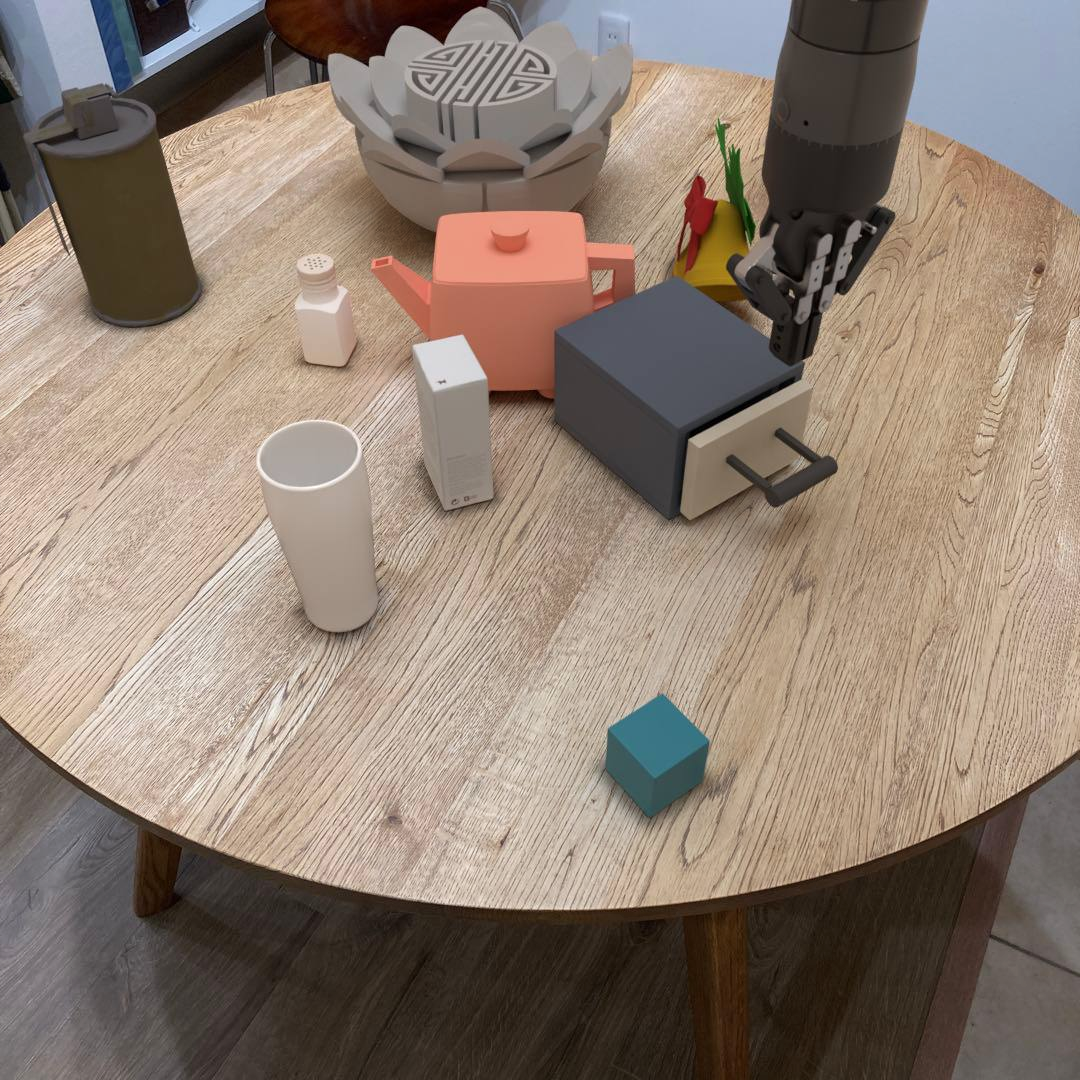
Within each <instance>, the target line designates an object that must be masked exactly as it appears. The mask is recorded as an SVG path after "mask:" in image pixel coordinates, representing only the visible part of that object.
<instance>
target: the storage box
mask: <svg viewBox="0 0 1080 1080" xmlns="http://www.w3.org/2000/svg"><path fill="white" fill-rule="evenodd" d="M554 339H555V340H554V398H553V401H554V404H553V406H554V407H553V409H554V422H555V423H557V424H558V425H559V426H560V427H561V428H562V429H564V430H565V432H567V433H568V434H569V435H571V436H572V437H573V438H574V439H575V440H576V441H577V442H579V443H580V444H581V445H582V446H583V447H584V448H585V449H586V450H588V451H589V452H590V453H591V454H593V456H595V457H596V458H597V459H598V461H600V462H602V464H604V465H605V466H606V467H607V468H608V469H609V470H611V471H612V472H613V473H614V474H615V475H616V476H618V477H619V478H620V479H621V480H622V481H623V482H625V483H626V484H627V485H628V486H629V487H630V488H632V489H633V490H634V491H635V492H636V493H637V494H638V495H640V496H641V497H642V498H643V499H644V500H645V501H647V502H648V503H649V504H650V505H651V506H652V507H653V508H655V509H656V510H657V511H658V512H659V513H660V514H661V515H662V516H664V517H665V518H666V519H667V520H671V519H673V518H674V517H676V516H678V515H680V514H682V513H681V512H680V508H681V499H682V491H683V490H682V491H680V484H681V475H682V466H683V457H684V448H685V439H686V433H687V432H689V431H691V430H693V429H695V428H697V427H699V426H701V425H703V424H704V423H706V422H708V421H710V420H712V419H714V418H716V417H718V416H720V415H722V414H723V413H725V412H727V411H729V410H731V409H733V408H735V407H737V406H739V405H741V404H742V403H744V402H746V401H748V400H750V399H752V398H754V397H756V396H758V395H760V394H761V393H763V392H765V391H767V390H769V389H771V388H773V387H775V386H777V385H778V384H780V385H779V390H778V392H779V391H781V390H783V389H784V388H786V387H788V386H790V385H792V384H794V383H796V382H798V381H800V380H801V379H803V375H804V370H805V365H806V362H805V360H801V361H800V362H799V363H797V364H795V365H793V366H791V367H790V366H788V365H786V364H785V363H783V362H782V361H780V360H779V359H777V358H776V357H775V356H773V354H772V353H771V352H770V350H769V342H770V337H768V336H767V335H766V334H764V333H763V332H761V331H759V330H758V329H757V328H755V327H754V326H753V325H751V324H749V323H747V322H746V321H745V320H743V319H742V318H740V317H739V316H737V315H736V314H735V313H733V312H732V311H730V310H728V309H727V308H725V307H724V306H723V305H721V304H720V303H718V302H715V301H714V300H712V299H711V298H709V297H708V296H706V295H705V294H703V293H702V292H700V291H699V290H697V289H696V288H694V287H693V286H691V285H690V284H688V283H687V282H685V281H684V280H682V279H681V278H680V277H678V276H675V277H673V276H672V277H670V278H668V279H665V280H663V281H662V282H659V283H657V284H655V285H653V286H651V287H648V288H646V289H644V290H641V291H639V292H636V293H635V295H632V296H630V297H628V298H626V299H624V300H621V301H619V302H617V303H615V304H612V305H610V306H608V307H606V308H603V309H601V310H599V311H597V312H595V313H592V314H590V315H588V316H586V317H583V318H581V319H579V320H577V321H575V322H572V323H570V324H568V325H566V326H563V327H561V328H559V329H557V330H555V331H554Z"/></svg>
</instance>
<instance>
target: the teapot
mask: <svg viewBox="0 0 1080 1080" xmlns="http://www.w3.org/2000/svg"><path fill="white" fill-rule="evenodd" d="M435 235H436V236H435V244H434V253H433V260H432V261H433V262H432V273H431V281H428V280H427V279H425V278H424V277H422V276H421V275H419V274H418V273H416V272H415V271H414V270H412V269H410V268H409V267H407V266H406V265H404V264H403V263H402V262H400V261H398V260H397V259H395V258H394V255H387V256H383V257H378V258H374V259H372V260H371V267H370V270H371V273H372V274H373V275H374V276H375V278H376V279H377V280H378V281H379V282H380V283H381V284H382V285H383V287H384V288H385V289H386V291H388V293H389V294H390V295H391V296H392V297H393V298H394V300H395V301H396V302H397V303H398V304H399V305H400V307H401V308H402V309H403V310H404V312H405V313H406V314H407V315H408V316H409V317H410V319H412V321H413V322H414V323H415V324H416V326H417V327H418V328H419V329H420V330H421V332H422V333H423V334H424V335H425V337H427V338H429V342H430V341H435V340H439V339H444V338H449V337H453V336H458V335H464V337H465V339H466V341H467V342H468V344H469V346H470V348H471V350H472V351H473V353H474V355H475V357H476V358H477V360H478V362H479V364H480V365H481V367H482V369H483V371H484V373H485V375H486V377H487V379H488V396H490V394H491V392H492V391H500V392H501V391H504V392H505V391H509V392H511V391H533V390H535V391H536V390H537V391H538V393H539V394H540V395H541V396H543V397H544V398H548V399H554V340H555V339H554V331H555V330H557V329H559V328H561V327H563V326H566V325H568V324H570V323H572V322H575V321H577V320H579V319H581V318H583V317H586V316H588V315H590V314H592V313H595V312H597V311H599V310H601V309H603V308H606V307H608V306H610V305H612V304H615V303H617V302H619V301H621V300H624V299H626V298H628V297H630V296H632V295H635V294H636V262H635V261H636V260H635V250H634V244H627V243H626V244H624V243H623V244H622V243H608V242H607V243H605V242H589V241H587V234H586V229H585V222H584V217H583V215H582V214H581V213H578V212H572V211H568V212H559V211H498V212H474V213H459V214H449V215H444V216H441V218H440V219H439V222H438V227H437V233H435ZM592 271H593V272H594V271H595V272H596V271H612V282H611V287H610V288H608V289H606V290H604V291H601V292H597V293H596V294H594V284H593V276H592Z"/></svg>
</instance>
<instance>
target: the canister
mask: <svg viewBox="0 0 1080 1080" xmlns="http://www.w3.org/2000/svg"><path fill="white" fill-rule="evenodd" d="M60 95H61V103H62V105H61V106H58V107H55V108H54V109H52V110H50V111H48V112H47V113H45V114H43V115H42V116H40V117H39V118H38V119H37V120H36V122H35V123H34V124H33V125H32V127H31V129H30V131H28V132H24V133H23V135H22V138H23V140H24V143H25V146H26V149H27V151H28V154H29V157H30V160H31V162H32V165H33V168H34V170H35V173H36V176H37V179H38V182H39V184H40V187H41V189H42V192H43V196H44V199H45V200H46V203H47V206H48V208H49V211H50V214H51V217H52V220H53V223H54V225H55V227H56V228H55V229H56V230H57V234H58V235H59V238H60V241H61V244H62V247H63V249H64V250H65V253H67V255H68V256H69V258H70V259H72V256H71V253H70V250H69V247H68V246H67V242H66V240H65V237H64V234H63V232H62V228H61V226H60V224H59V221H58V218H57V215H56V212H55V209H54V206H53V204H52V201H51V198H50V195H49V193H48V190H47V188H46V185H45V182H44V179H43V177H42V174H41V171H40V168H39V166H38V163H37V160H36V158H35V154H34V152H33V149H32V145H33V146H34V148H35V149H36V150H37V152H38V155H39V157H40V161H41V163H42V166H43V169H44V172H45V174H46V177H47V181H48V183H49V186H50V188H51V191H52V194H53V197H54V199H55V203H56V205H57V208H58V211H59V214H60V217H61V219H62V222H63V225H64V227H65V229H66V232H67V236H68V239H69V241H70V244H71V246H72V249H73V252H74V255H75V258H76V261H77V263H78V267H79V268H80V271H81V275H82V277H83V280H84V282H85V285H86V288H87V292H88V295H89V297H90V306H91V309H92V312H94V313H95V315H96V316H97V317H99V319H101V320H103V321H105V322H106V323H109V324H112V325H117V326H121V327H148V326H153V325H158V324H161V323H164V322H166V321H171V320H174V319H175V318H177V317H179V316H180V315H182V314H184V313H185V312H187V311H188V310H190V308H192V307H193V306H194V305H195V303H197V301H199V299H200V295H201V293H202V286H203V285H202V282H201V278H200V277H199V275H198V274H197V272H196V268H195V263H194V262H193V257H192V254H191V253H192V252H191V249H190V246H189V242H188V238H187V235H186V232H185V227H184V224H183V220H182V216H181V213H180V209H179V206H178V202H177V199H176V195H175V191H174V187H173V184H172V180H171V177H170V172H169V170H168V166H167V162H166V159H165V154H164V151H163V147H162V144H161V140H160V137H159V133H158V129H157V116H156V113H155V111H154V110H153V109H152V107H150V106H149V105H147V104H146V103H143V102H141V101H138V100H136V99H133V98H124V97H120V95H121V94H120V93H117V92H116V91H115V90H114V87H113V86H111V85H109V84H108V83H97V84H93V85H90V86H87V87H86V86H85V87H83V88H78V87H73V88H69V89H65V90H62V91H61V94H60Z"/></svg>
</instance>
